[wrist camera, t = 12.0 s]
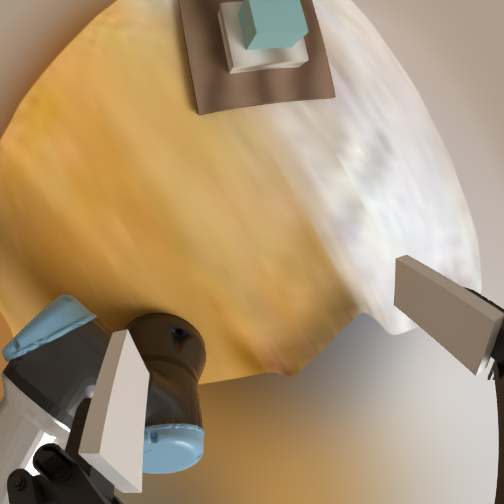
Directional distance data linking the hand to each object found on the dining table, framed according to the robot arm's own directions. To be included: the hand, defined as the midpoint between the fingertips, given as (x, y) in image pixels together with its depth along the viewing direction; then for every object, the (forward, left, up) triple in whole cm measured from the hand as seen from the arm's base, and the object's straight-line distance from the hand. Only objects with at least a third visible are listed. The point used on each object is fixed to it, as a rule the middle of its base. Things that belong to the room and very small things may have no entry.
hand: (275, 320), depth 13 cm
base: (+10, +23, -31) cm, 40 cm away
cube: (+10, +23, -25) cm, 36 cm away
